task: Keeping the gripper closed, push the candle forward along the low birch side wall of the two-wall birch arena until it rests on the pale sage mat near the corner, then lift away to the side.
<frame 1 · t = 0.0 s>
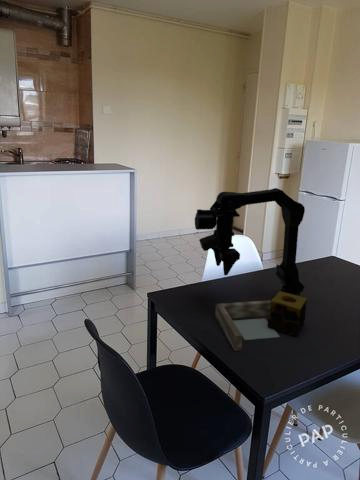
hand: (221, 270, 134), 15 cm above the table, tool pointing down, fingers open, 9 cm apart
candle: (285, 326, 126), on the table, touching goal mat
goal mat: (255, 328, 124), on the table
arena: (255, 328, 124), on the table
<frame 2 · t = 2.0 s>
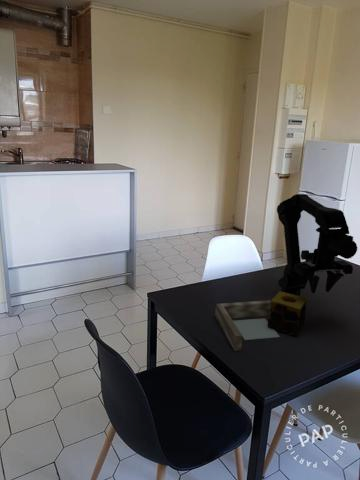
hand: (319, 292, 125), 12 cm above the table, tool pointing down, fingers open, 5 cm apart
nothing on the table moved.
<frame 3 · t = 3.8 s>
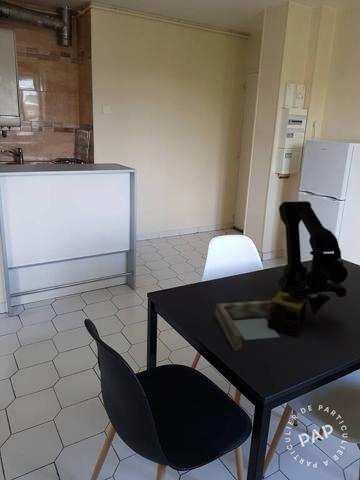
hand: (313, 313, 127), 4 cm above the table, tool pointing down, fingers closed
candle: (285, 326, 126), on the table, touching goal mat, gripper
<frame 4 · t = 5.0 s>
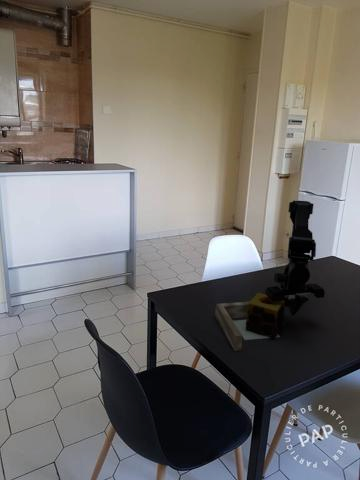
hand: (292, 315, 125), 4 cm above the table, tool pointing down, fingers closed
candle: (264, 328, 124), resting on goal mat, touching gripper
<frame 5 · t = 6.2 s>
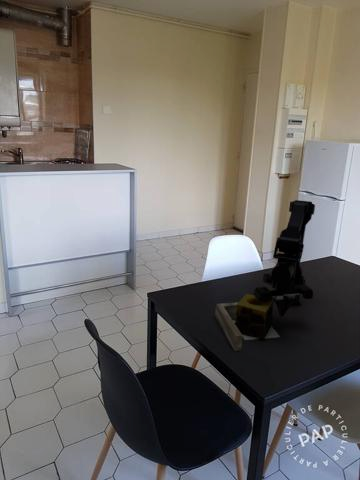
hand: (280, 316, 124), 4 cm above the table, tool pointing down, fingers closed
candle: (253, 329, 123), resting on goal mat, touching gripper
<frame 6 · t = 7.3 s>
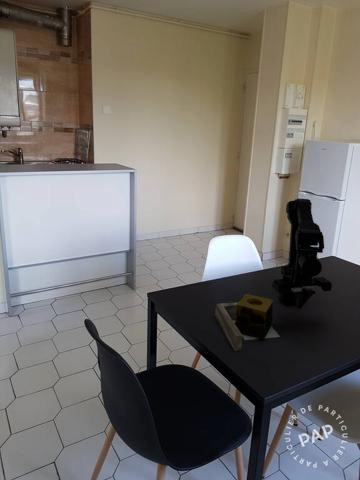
hand: (298, 308, 125), 7 cm above the table, tool pointing down, fingers closed
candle: (253, 329, 123), resting on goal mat
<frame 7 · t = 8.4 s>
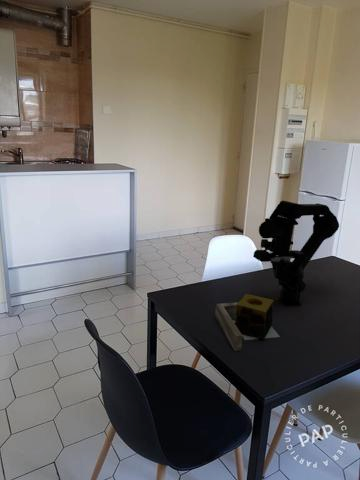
hand: (276, 278, 135), 12 cm above the table, tool pointing down, fingers closed
nothing on the table moved.
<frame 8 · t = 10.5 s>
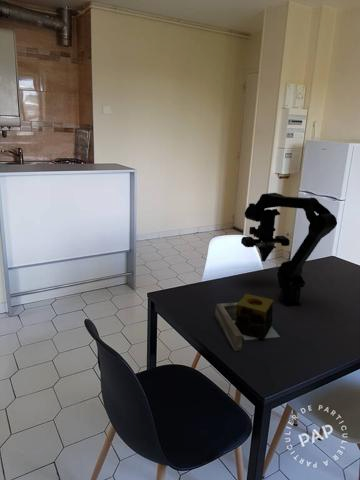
hand: (263, 261, 152), 12 cm above the table, tool pointing down, fingers closed
nothing on the table moved.
at the end: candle inside the target area (0.7 cm from its centre), resting on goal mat; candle tilted 0°; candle moved 12.0 cm from its start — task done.
